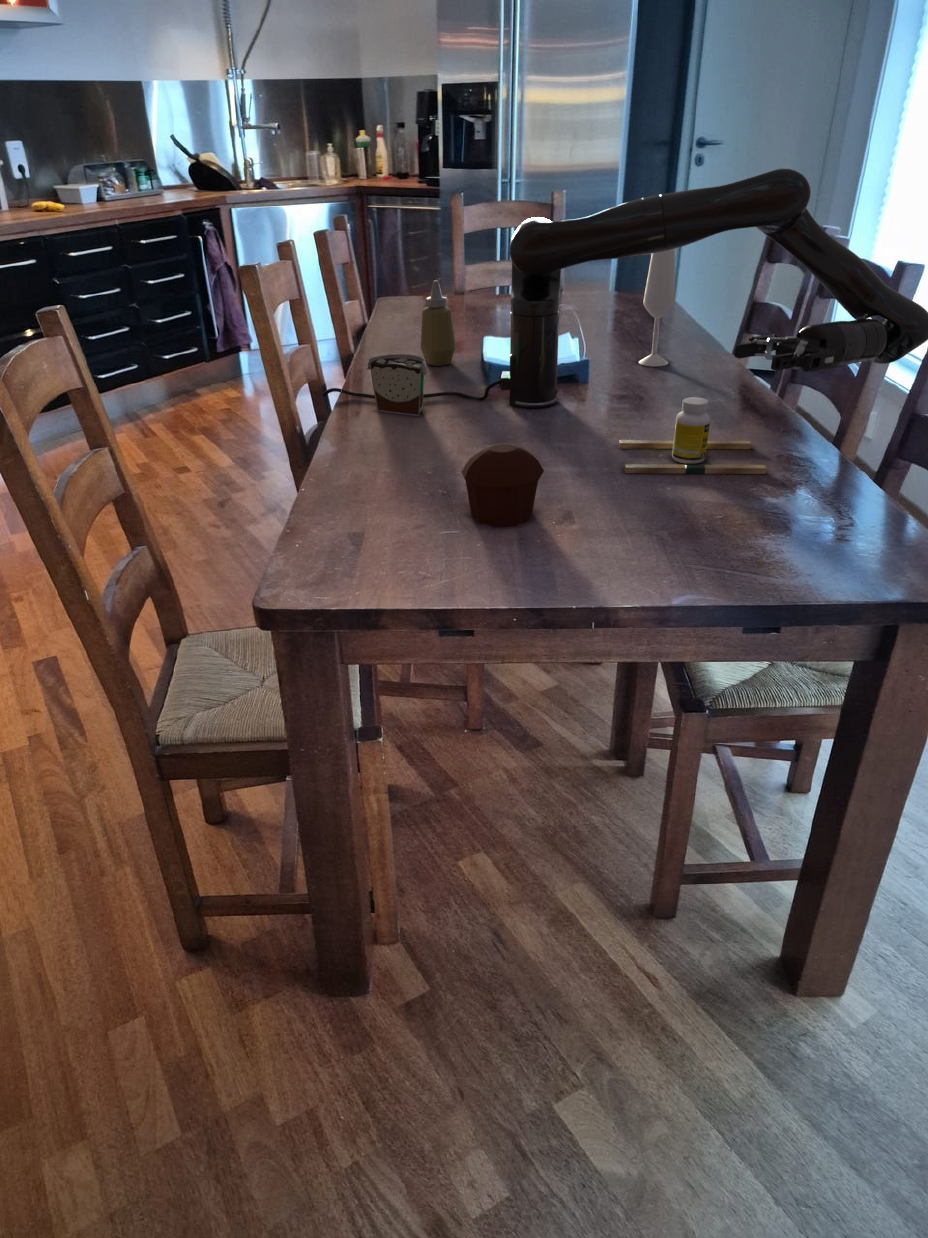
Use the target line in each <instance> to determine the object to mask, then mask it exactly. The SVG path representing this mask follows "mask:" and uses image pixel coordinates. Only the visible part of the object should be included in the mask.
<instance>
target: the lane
mask: <svg viewBox="0 0 928 1238" xmlns="http://www.w3.org/2000/svg"><path fill="white" fill-rule="evenodd" d="M673 442H674V439H673V440H668V439H667V440H661V439H660V440H658V439H657V440H656V439H655V440H653V439H651V440H650V439H649V440H648V439H647V440H644V439H643V440H641V439H640V440H636V439H630V440H629V439H628V440H627V439H619V441H618V447H619V449H633V450H634V449H635V450H636V449H642V450H649V449H652V450H653V449H657V450H658V449H660V450H661V449H662V450H663V449H664V450H666V449H667V450H668V449H669V450H673ZM751 449H752V442H751V441H750V440H708V441H707V448H706V450H751ZM767 470H768V468H767V466H766V465H765V464H675V463H674V464H673V463H672V464H668V463H667V464H666V463H665V464H664V463H663V464H662V463H661V464H660V463H659V464H657V463H655V464H653V463H651V464H650V463H646V464H645V463H641V464H640V463H624V473H625V474H678V475H679V474H681V475H683V474H685V475H686V474H690V475H691V474H694V475H695V474H699V475H700V474H702V475H704V474H705V475H708V474H709V475H767Z"/></svg>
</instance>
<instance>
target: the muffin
mask: <svg viewBox="0 0 928 1238" xmlns="http://www.w3.org/2000/svg"><path fill="white" fill-rule="evenodd" d="M544 472H545V470H544V468H543V466H542V465H541V462H540V461H539V459H538V458H537V457H536V456H535V455H534V453H533V452H532V451H530V450H529V449H527V448H525V447H522V446H520V445H517V444H515V443H513V444H512V443H497V444H490V445H488V446H485V447H483V448H481V449H479V450H477V451H476V452H475V453H473V455H471V457H470V458H469V459H468V461H466V463H465V465H464V466H463V468H462V470H461V471H460V473H461V475H462V477H463V479H464V480H465V486H466V492H467V498H468V503H469V509H470V515H471V517H472V518H473V519H475V520H476V521H477V522H478V524H481V525H487V526H488V525H489V526H491V527H495V528H499V527H516V526H518V525H520V524H523V523H526V522H528V521H531V516H532V514H533V512H534V506H535V501H536V495H537V490H538V484H539V480H540V479H541V478H542V476H543V474H544Z"/></svg>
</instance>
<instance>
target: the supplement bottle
mask: <svg viewBox="0 0 928 1238" xmlns="http://www.w3.org/2000/svg"><path fill="white" fill-rule="evenodd" d="M708 408H709V400H707V399H705V398H703V397H696V396H695V397H694V396H693V397H691V396H690V397H686V398H684V399H682V405H681V410H682V411H680V412H678V413H677V414H676V417H675V425H674V435H673V440H674V442H673V449H671V458H672V460H674V462H677V463H680V464H684V465H698V464H701V463H703V462H704V461H705V459H706V455H707V454H706V453H707V449H706V448H707V441H709V432H710V425H711V417H710V415H709V414H708V413H707V411H708Z"/></svg>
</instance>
